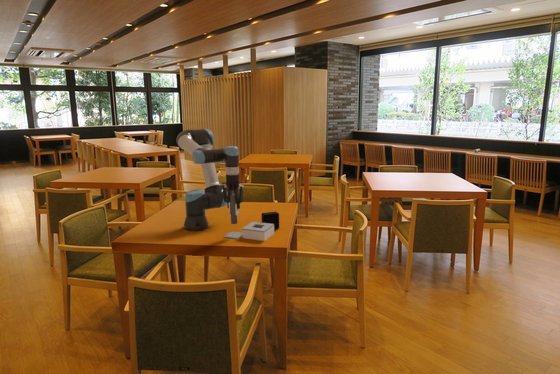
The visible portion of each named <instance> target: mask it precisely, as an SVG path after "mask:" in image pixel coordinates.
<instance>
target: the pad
mask: <svg viewBox="0 0 560 374" xmlns="http://www.w3.org/2000/svg"><path fill="white" fill-rule="evenodd" d="M223 237H224V238H226V239H233V240H234V239H235V240H239V239H240V238H242V232H238V231H230V232H228V233H227V234H225V235H224V236H223Z"/></svg>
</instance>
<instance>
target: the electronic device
mask: <svg viewBox="0 0 560 374" xmlns="http://www.w3.org/2000/svg"><path fill="white" fill-rule="evenodd" d="M261 223H270V224H274V230H278V229H280V213H279V212H278V211H269V212H262V213H261Z"/></svg>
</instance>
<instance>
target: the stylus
mask: <svg viewBox="0 0 560 374" xmlns="http://www.w3.org/2000/svg"><path fill="white" fill-rule="evenodd" d="M235 204H236V198H235V193H232V194H230V207H231V214H230V224H231V225H237V224H238V215H236V212H235Z"/></svg>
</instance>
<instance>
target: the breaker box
mask: <svg viewBox="0 0 560 374" xmlns="http://www.w3.org/2000/svg"><path fill="white" fill-rule="evenodd" d="M241 233H242V237H241V238H242V239H244V240H245V239H248V240H252V241H253V240H254V241H262V242H263V241H264V242H265V241H267V240H268V239H270V237H272V236H273V235H274V234H275V229H274V224H270V223H262V221H261V222H259V221H251V222H250V223H248V224H247V225H245V226H244V227H242V228H241Z"/></svg>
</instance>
